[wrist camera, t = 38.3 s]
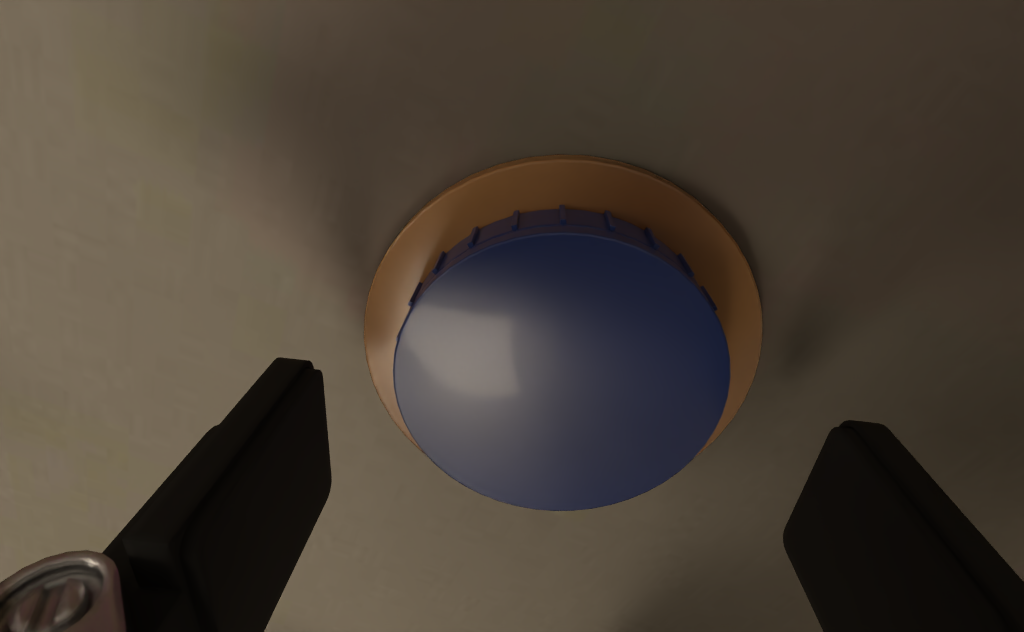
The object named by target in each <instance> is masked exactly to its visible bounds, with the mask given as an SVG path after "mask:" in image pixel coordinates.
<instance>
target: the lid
mask: <svg viewBox="0 0 1024 632" xmlns="http://www.w3.org/2000/svg"><path fill="white" fill-rule="evenodd" d="M694 275H695V274H694V272H693V271H692V269H691V267H690V266H689V264H688V263H687V261H686V259H685V258H684V256H683V255H682V254H681V253H680V254H679V255H676V254H675V253H674V252H673V251H672V250H671V249H669V248H668V247H667V246H666V245H665V244H664V243H663V242H661V241H660V240H658V239H657V238H655V236H654V234H653V232H652V230H651V229H650V228H648V227H647V228H646V229H645V231H644V230H642V229H640V228H639V227H637V226H635V225H633V224H631V223H629V222H626V221H623V220H620V219H617V218H614V217H612V215H611V212H610V211H606V210H605V212H604V214H600V213H595V212H590V211H585V210H571V209H565V205H559V209H551V210H537V211H532V212H527V213H520V212H519V210H516V211H514V213H513V216H510V217H507V218H504V219H501V220H498V221H495V222H493V223H491V224H489V225H487V226H485V227H483V228H481V229H479V228H478V226H476V227H474V228H473V229H472V232H471V234H470V235H469V236H468V237H466V238H464V239H463V240H461V241H460V242H459V243H457V244H456V245H455V246H454V247H453V248H452V249H451V250H449V251H448V252H447V253H445V252H444V251H442V252H441V253H440V255H439V257H438V259H437V261H436V263H435V265H434V268H433V269H432V270H431V271H430V273H429V275H428V276H427V278H426V279H425V281H424V282H423V283H421V282H419V283H418V285H417V287H416V289H415V291H414V293H413V295H412V297H411V299H410V301H409V303H408V305H409V306H411V308H410V310H409V312H408V314H407V316H406V318H405V320H404V323H403V325H402V327H401V329H400V331H399V333H398V335H397V337H396V341H397V344H396V347H395V351H394V362H393V382H394V390H395V395H396V399H397V404H398V407H399V410H400V412H401V415H402V418H403V420H404V423H405V424H406V426H407V428H408V430H409V432H410V434H411V435H412V437H413V439H414V440H415V441H416V443H417V444H418V445H419V447H420V448H421V449H422V451H423V452H424V453H425V454H426V455H427V456H428V457H429V458H430V459H431V460H432V461H433V462H434V463H435V465H437V466H438V467H439V468H440V469H442V470H443V471H444V472H445V473H446V474H448V475H449V476H450V477H452V478H453V479H455V480H456V481H458V482H459V483H461V484H463V485H464V486H466V487H468V488H470V489H472V490H474V491H476V492H478V493H480V494H482V495H484V496H487V497H490V498H492V499H495V500H497V501H500V502H504V503H508V504H511V505H515V506H520V507H525V508H531V509H538V510H550V511H574V510H583V509H592V508H597V507H602V506H607V505H612V504H615V503H618V502H622V501H625V500H628V499H631V498H633V497H636V496H638V495H640V494H643V493H645V492H647V491H649V490H651V489H653V488H655V487H656V486H658V485H660V484H662V483H664V482H665V481H666V480H668V479H669V478H671V477H672V476H674V475H675V474H676V473H678V472H679V471H680V470H681V469H682V468H684V467H685V466H686V465H687V464H688V463H689V462H690V461H691V460H693V458H694V457H695V456H696V455H697V454H698V453H699V452H700V450H701V449H702V448H703V447H704V446H705V444H706V443H707V441H708V440H709V438H710V437H711V435H712V434H713V432H714V431H715V429H716V427H717V425H718V423H719V420H720V418H721V416H722V414H723V411H724V408H725V404H726V401H727V398H728V393H729V386H730V378H731V368H730V354H729V349H728V344H727V339H726V336H725V333H724V331H723V328H722V325H721V323H720V320H719V318H718V316H717V315H716V313H715V311H716V310H718V309H717V307H716V305H715V303H714V302H713V300H712V298H711V297H710V295H709V294H708V292H707V290H706V289H705V287H704V286H701V287H700V286H699V284H698V283H697V281H696V280H695V278H694Z"/></svg>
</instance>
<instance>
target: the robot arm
mask: <svg viewBox="0 0 1024 632" xmlns="http://www.w3.org/2000/svg"><path fill="white" fill-rule="evenodd" d="M330 488H331V466H330V454H329V443H328V431H327V419H326V408H325V396H324V384H323V375H322V372H321V371H320V370H316V369H314V367H313V364H312V362H310V361H307V360H298V359H289V358H277V359H275V360H274V361H273V362H272V364H271V365H270V366H269V367H268V368H267V369H266V371H265V372H264V373H263V374H262V375H261V376H260V378H259V379H258V380H257V381H256V382H255V383H254V385H253V386H252V387H251V388H250V389H249V390H248V392H247V393H246V394H245V395H244V396H243V398H242V399H241V400H240V401H239V402H238V403H237V405H236V406H235V407H234V408H233V409H232V410H231V412H230V413H229V414H228V415H227V416H226V417H225V419H224V420H223V421H222V422H221V423H220V424H219V425H217V426H214V427H213V428H211V429H210V430H209V431H208V432H207V433H206V434H205V435H204V436H203V438H202V439H201V440H200V441H199V442H198V443H197V444H196V446H195V447H194V448H193V449H192V450H191V451H190V453H189V454H188V455H187V456H186V457H185V458H184V459H183V461H182V462H181V463H180V464H179V465H178V466H177V467H176V469H175V470H174V471H173V472H172V473H171V474H170V476H169V477H168V478H167V479H166V480H165V481H164V482H163V484H162V485H161V486H160V487H159V488H158V489H157V490H156V492H155V493H154V494H153V495H152V496H151V497H150V499H149V500H148V501H147V502H146V503H145V504H144V505H143V507H142V508H141V509H140V510H139V511H138V512H137V514H136V515H135V516H134V517H133V518H132V519H131V520H130V522H129V523H128V524H127V525H126V526H125V527H124V528H123V530H122V531H121V532H120V533H119V534H118V535H117V537H116V538H115V539H114V540H113V541H112V542H111V543H110V545H109V546H108V547H107V548H106V549H105V550H104V552H103V553H98V552H93V551H88V550H85V551H71V552H65V553H61V554H58V555H54V556H50V557H47V558H44V559H42V560H40V561H37V562H35V563H33V564H31V565H29V566H26V567H24V568H22V569H21V570H19V571H18V572H16V573H15V574H13V575H11V576H10V577H8V578H7V579H5V580H4V581H2V582H1V583H0V632H264V630H265V628H266V626H267V624H268V622H269V620H270V618H271V615H272V613H273V611H274V609H275V607H276V605H277V603H278V601H279V599H280V597H281V595H282V593H283V590H284V588H285V586H286V584H287V582H288V580H289V578H290V576H291V574H292V572H293V570H294V567H295V565H296V563H297V561H298V559H299V557H300V555H301V553H302V551H303V549H304V547H305V545H306V542H307V540H308V538H309V536H310V534H311V532H312V530H313V528H314V526H315V524H316V522H317V519H318V517H319V515H320V513H321V511H322V509H323V507H324V505H325V503H326V501H327V498H328V496H329V493H330ZM783 543H784V547H785V550H786V553H787V555H788V557H789V559H790V561H791V563H792V565H793V568H794V570H795V572H796V574H797V576H798V578H799V580H800V582H801V585H802V587H803V589H804V591H805V593H806V595H807V597H808V599H809V602H810V604H811V606H812V608H813V610H814V612H815V614H816V617H817V619H818V621H819V623H820V625H821V627H822V629H823V631H824V632H1024V582H1023V581H1022V580H1021V579H1020V577H1019V576H1018V575H1017V574H1016V573H1015V572H1014V571H1013V569H1012V568H1011V567H1010V566H1009V565H1008V564H1007V563H1006V561H1005V560H1004V559H1003V558H1002V557H1001V556H1000V555H999V554H998V552H997V551H996V550H995V549H994V548H993V547H992V546H991V544H990V543H989V542H988V541H987V540H986V539H985V538H984V537H983V535H982V534H981V533H980V532H979V531H978V530H977V529H976V527H975V526H974V525H973V524H972V523H971V522H970V521H969V520H968V518H967V517H966V516H965V515H964V514H963V513H962V512H961V510H960V509H959V508H958V507H957V506H956V505H955V504H954V503H953V501H952V500H951V499H950V498H949V497H948V496H947V495H946V493H945V492H944V491H943V490H942V489H941V488H940V487H939V486H938V484H937V483H936V482H935V481H934V480H933V479H932V478H931V476H930V475H929V474H928V473H927V472H926V471H925V470H924V469H923V467H922V466H921V465H920V464H919V463H918V462H917V461H916V459H915V458H914V457H913V456H912V455H911V454H910V453H909V452H908V450H907V449H906V448H905V447H904V446H903V445H902V444H901V442H900V441H899V440H898V439H897V438H896V437H895V436H894V434H893V433H892V432H891V431H890V430H889V429H888V428H887V427H886V426H884V425H882V424H879V423H871V422H862V421H852V420H848V421H844V422H843V423H841V424H840V426H839V427H834V428H833V429H832V430H831V431H830V433H829V435H828V437H827V439H826V441H825V443H824V445H823V447H822V450H821V452H820V454H819V456H818V458H817V460H816V462H815V465H814V467H813V469H812V471H811V473H810V475H809V477H808V480H807V482H806V484H805V486H804V488H803V490H802V492H801V495H800V497H799V499H798V501H797V503H796V505H795V507H794V510H793V512H792V514H791V516H790V518H789V520H788V522H787V524H786V527H785V529H784V533H783Z"/></svg>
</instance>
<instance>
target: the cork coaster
mask: <svg viewBox="0 0 1024 632" xmlns="http://www.w3.org/2000/svg"><path fill="white" fill-rule="evenodd" d="M559 205H565V209H571V210H585V211H590V212H595V213H600V214H604V212H605V210H606V211H610V212H611V215H612V217H614V218H617V219H620V220H623V221H626V222H629V223H631V224H633V225H635V226H637V227H639V228H640V229H642V230H644V231H645V229H646V228H647V227H648V228H650V229H651V230H652V232H653V234H654V236H655V238H657V239H658V240H660V241H661V242H663V243H664V244H665V245H666V246H667V247H668V248H669V249H671V250H672V251H673V252H674V253H675V254H676V255H679V254H680V253H681V254H682V255H683V256H684V258H685V259H686V261H687V263H688V264H689V266H690V267H691V269H692V271H693V272H694V274H695V275H694V278H695V280H696V281H697V283H698V284H699V286H700V287H701V286H704V287H705V289H706V290H707V292H708V294H709V295H710V297H711V298H712V300H713V302H714V303H715V305H716V307H717V309H718V310H716V311H715V313H716V315H717V316H718V318H719V320H720V323H721V325H722V328H723V331H724V333H725V336H726V339H727V344H728V349H729V354H730V368H731V378H730V386H729V393H728V398H727V401H726V404H725V408H724V411H723V414H722V416H721V418H720V420H719V423H718V425H717V427H716V429H715V431H714V432H713V434H712V435H711V437H710V438H709V440H708V441H707V443H706V444H705V446H704V447H703V448H702V449H701V450H700V452H699V453H698V454H700V453H701V452H702V451H703V450H704V449H705V448H706V447H707V446H709V445H710V444H711V443H712V442H713V441H714V440H715V439H716V438H717V437H718V436H719V435H720V434H721V432H722V431H723V430H724V429H725V428H726V426H727V425H728V424H729V423H730V422H731V420H732V419H733V417H734V416H735V414H736V413H737V411H738V410H739V408H740V406H741V405H742V403H743V402H744V400H745V398H746V395H747V393H748V391H749V389H750V387H751V384H752V382H753V380H754V376H755V373H756V369H757V366H758V362H759V359H760V352H761V344H762V336H763V329H762V309H761V304H760V299H759V294H758V288H757V285H756V283H755V280H754V277H753V275H752V272H751V269H750V266H749V264H748V262H747V261H746V259H745V257H744V255H743V254H742V252H741V250H740V248H739V246H738V245H737V243H736V242H735V240H734V239H733V238H732V237H731V235H730V234H729V233H728V231H727V230H726V229H725V228H724V226H723V225H722V224H721V223H720V221H719V220H718V219H717V218H716V217H715V216H714V215H713V214H712V213H711V212H710V211H708V210H707V209H706V208H705V207H704V206H703V205H702V204H701V203H700V202H699V201H698V200H696V199H695V198H694V197H693V196H691V195H690V194H688V193H687V192H685V191H684V190H682V189H681V188H679V187H678V186H676V185H675V184H673V183H672V182H670V181H668V180H666V179H664V178H662V177H660V176H658V175H656V174H654V173H652V172H649V171H647V170H645V169H642V168H639V167H636V166H633V165H630V164H626V163H623V162H620V161H617V160H611V159H605V158H599V157H594V156H587V155H560V154H557V155H547V156H537V157H528V158H523V159H519V160H515V161H510V162H506V163H502V164H498V165H496V166H493V167H490V168H488V169H485V170H483V171H480V172H477V173H475V174H472V175H470V176H469V177H467V178H465V179H463V180H461V181H459V182H458V183H456V184H454V185H452V186H450V187H449V188H447V189H446V190H444V191H443V192H442V193H440V194H439V195H438V196H436V197H435V198H434V199H432V200H431V201H430V202H428V203H427V204H426V205H425V206H424V207H423V208H422V209H421V210H420V211H419V212H418V213H417V214H416V215H415V216H414V217H413V218H412V219H411V220H410V221H409V222H408V223H407V224H406V225H405V227H404V228H403V229H402V231H401V232H400V233H399V235H398V236H397V237H396V239H395V240H394V242H393V243H392V244H391V246H390V247H389V248H388V250H387V252H386V254H385V256H384V258H383V259H382V261H381V263H380V265H379V267H378V269H377V271H376V274H375V277H374V279H373V282H372V285H371V288H370V291H369V294H368V300H367V305H366V311H365V319H364V342H365V350H366V359H367V363H368V367H369V370H370V374H371V378H372V381H373V383H374V386H375V388H376V390H377V393H378V395H379V397H380V400H381V401H382V403H383V405H384V406H385V408H386V410H387V411H388V413H389V415H390V416H391V418H392V419H393V421H394V422H395V423H396V425H397V426H398V427H399V428H400V430H401V431H402V432H403V433H404V435H405V436H406V437H407V438H408V439H409V440H410V441H411V442H412V443H413V444H414V445H415V446H416V447H417V448H418V449H419V450H421V451H422V449H421V448H420V447H419V445H418V444H417V443H416V441H415V440H414V439H413V437H412V435H411V434H410V432H409V430H408V428H407V426H406V424H405V423H404V420H403V418H402V415H401V412H400V410H399V407H398V404H397V399H396V395H395V390H394V382H393V362H394V351H395V347H396V344H397V341H396V337H397V335H398V333H399V331H400V329H401V327H402V325H403V323H404V320H405V318H406V316H407V314H408V312H409V310H410V308H411V306H409V305H408V303H409V301H410V299H411V297H412V295H413V293H414V291H415V289H416V287H417V285H418V283H419V282H421V283H423V282H424V281H425V279H426V278H427V276H428V275H429V273H430V271H431V270H432V269H433V268H434V265H435V263H436V261H437V259H438V257H439V255H440V253H441V252H442V251H444V252H445V253H447V252H448V251H449V250H451V249H452V248H453V247H454V246H455V245H456V244H457V243H459V242H460V241H461V240H463V239H464V238H466V237H468V236H469V235H470V234H471V232H472V229H473V228H474V227H476V226H478V228H479V229H481V228H483V227H485V226H487V225H489V224H491V223H493V222H495V221H498V220H501V219H504V218H507V217H510V216H513V213H514V211H516V210H519V212H520V213H527V212H532V211H537V210H551V209H559ZM422 452H423V451H422ZM423 453H424V452H423ZM424 454H425V453H424ZM698 454H697V455H698ZM697 455H696V456H697Z"/></svg>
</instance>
